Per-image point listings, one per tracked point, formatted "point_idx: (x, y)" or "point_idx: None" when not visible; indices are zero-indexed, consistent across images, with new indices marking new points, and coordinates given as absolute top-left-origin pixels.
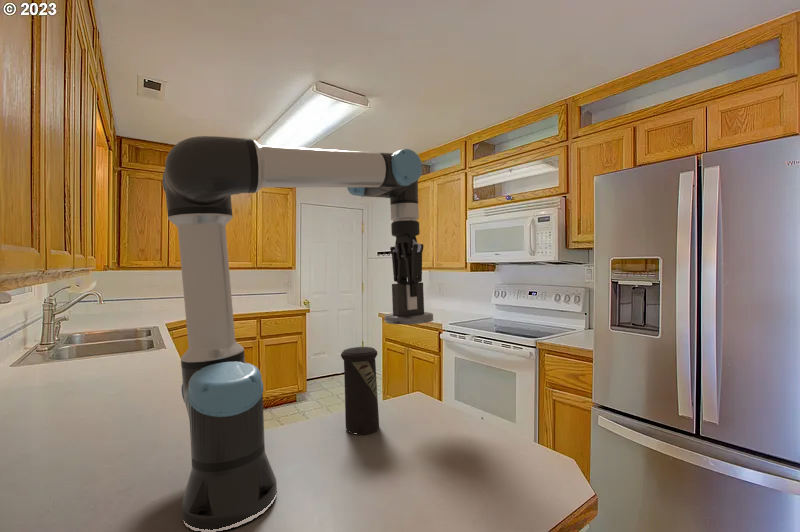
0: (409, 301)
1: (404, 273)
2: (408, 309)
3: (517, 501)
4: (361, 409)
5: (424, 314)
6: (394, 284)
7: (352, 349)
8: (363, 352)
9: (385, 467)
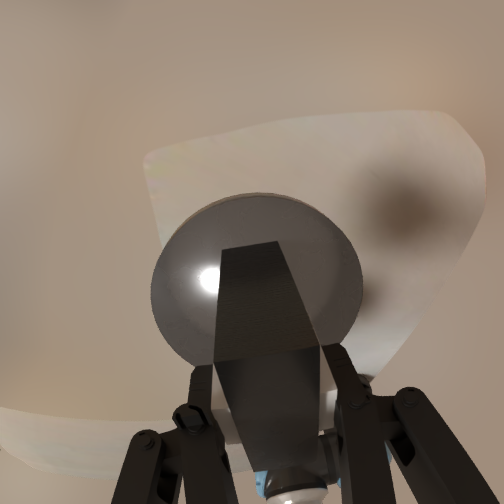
0: None
1: (229, 491)
2: None
3: (464, 209)
4: None
5: (296, 248)
6: (284, 466)
7: None
8: None
9: (368, 292)
